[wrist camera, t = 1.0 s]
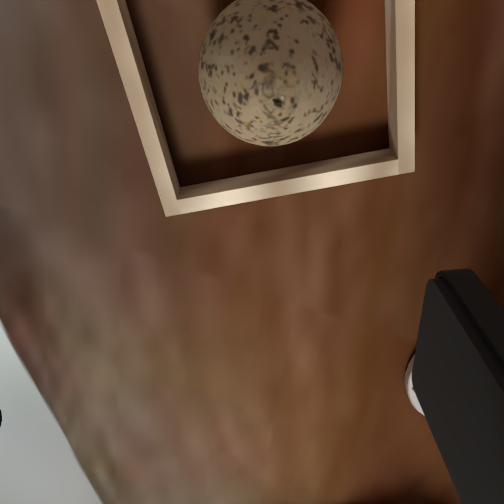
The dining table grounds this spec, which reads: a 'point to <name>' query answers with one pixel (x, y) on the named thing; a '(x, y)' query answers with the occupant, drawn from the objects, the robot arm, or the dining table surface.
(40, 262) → the dining table surface
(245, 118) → the decorative egg
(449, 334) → the robot arm
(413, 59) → the frame
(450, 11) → the dining table surface
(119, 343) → the dining table surface
